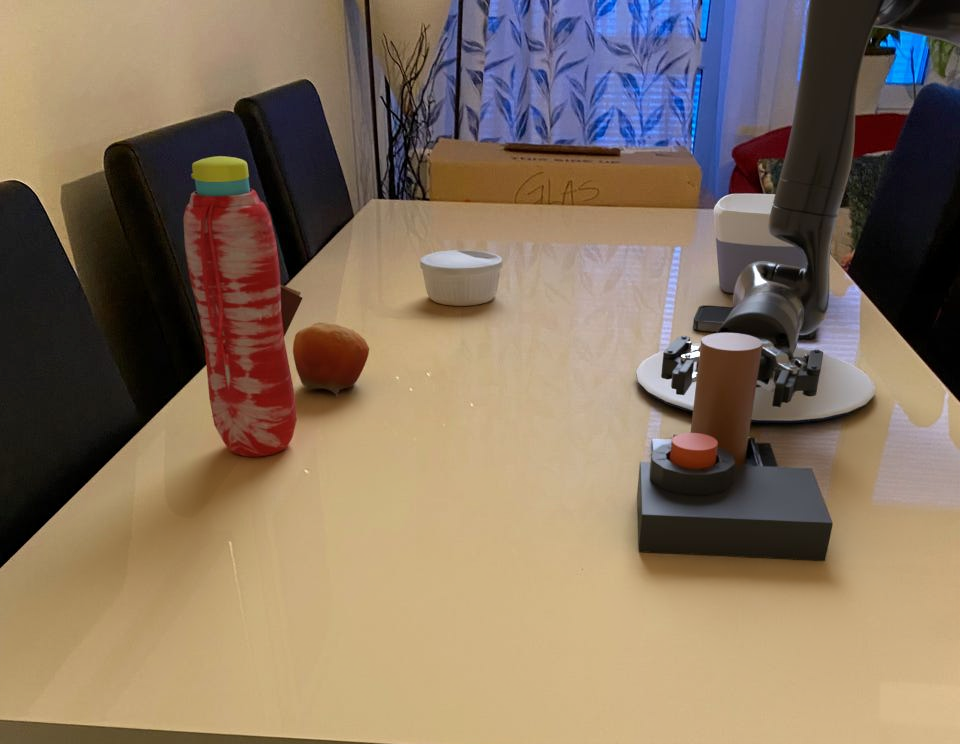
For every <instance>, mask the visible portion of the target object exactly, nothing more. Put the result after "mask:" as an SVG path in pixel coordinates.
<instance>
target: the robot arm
mask: <svg viewBox="0 0 960 744" xmlns="http://www.w3.org/2000/svg"><path fill="white" fill-rule="evenodd" d="M874 28H881V29H887V30H894V31H898V32H903V33H909V34H914V35H919V36H923V37H927V38H932V39H935V40H940V41H942V42H946V43H948V44H952V45H954V46H957V47H958V48H960V0H809V4H808V14H807V23H806V32H805V39H804V47H803V52H802V53H803V54H802V60H801V61H802V62H801V70H800V75H799V83H798V88H797V89H798V90H797V96H796V102H795V108H794V113H793V119H792V124H791V128H790V132H789V133H790V134H789V138H788V143H787V148H786V152H785V156H784V160H783V164H782V167H781V171H780V173H779V178H778V183H777V187H776V190H775V193H774V194H775V197H774V201H773V204H774V205H773V206H772V209H771V213H770V217H769V223H768V230H769V232H770V234H771V235H772V236H774V237H776V238H777V239H779V240H782V241H784V242H787V243H789V244H791V245H793V246H795V247H797V248H798V249H800V250H801V251H802V253H803V254H804V257H805V260H806V268H801V267H795V266H790V265H784V264H778V263H774V262H769V261H757V262H753V263H751V264H749V265H748V266H747V267H746V268H745V269H744V270H743V271H742V272H741V274H740V276H739V278H738V280H737V282H736V285H735V289H734V294H732V307H733V310H732V311H731V313H730V314H729V315H728V317H727V318H726V320H725V321H724V323H723V324H722V326H721V327H720V329H719V330H718V332H716V333H739V334H745V335H750V336H753V337H756V338H758V339H759V340H761V341H762V351H761V358H760V364H759V371H758V378H757V385H756V388H758V387H763V388H764V389H766V390H767V391H769V392H774V397H773V404H772V406H774V407H781V405H782V402H784V403H788V402H790V401H791V399H792V396H794V395H795V392H796V391H803V393H802V394H803V395H806V396H815V395H816V393H817V387H818V381H819V375H820V371H821V365H822V358H823V354H824V351H822V350H820V349H812V350H811V349H810V350H811V351H810V354H804V357H794V356H793V353H794V351H795V349H796V347H797V346H798V340H799V338H798V337H799V335H807V334H809V333H811V332H813V331H814V330H815V329H817V327H818V328H819V327H820V326H821V325H822V323H823V322H824V320H825V318H826V315H827V313H828V310H829V305H830V264H831V263H830V259H831V249H832V241H833V235H834V231H835V226H836V223H837V219H838V215H839V212H840V208H841V204H842V200H843V198H844V195H845V191H846V188H847V184H848V181H849V177H850V173H851V169H852V168H851V167H852V163H853V157H854V150H855V134H856V111H857V110H856V109H857V107H856V106H857V94H858V88H859V79H860V73H861V69H862V65H863V60H864V56H865V52H866V49H867V47H868V42H869V40H870V37H871V35H872V32H873V29H874ZM692 344H693V342H692V341H691V337H690V336H687V335H679V336H678V337H677V338H675V340H673V341H672V342H671V343H670V344H669V345H668V346H667V347H666V348H665V349H664V350H663V351H664V352H663V363H662V373H661V377H662V378H663V379H672V382H671V388H672V389H676V394H678V395H685V393H686V391H687V390H688V388H689V387H690V385H691V384H692V382H696V381H697V372H698V363H699V355H700V346H693V345H692ZM694 362H697V365H696V370H695V371H694V372H693V367H694Z"/></svg>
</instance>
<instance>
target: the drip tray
mask: <svg viewBox="0 0 960 744" xmlns="http://www.w3.org/2000/svg"><path fill="white" fill-rule="evenodd" d="M676 435H677V434H673V435H672V438H673V437H674V436H676ZM672 438H671V439H667V438H651V444H650V445H651V452H652V451H654V450H655V449H657V448H658V447H660V446H661V445H665V444H670V443H671V442H672ZM744 466H766V467H779V465H778V462H777V459H776V456H775V453H774V449H773V447H772V443H771V442H757V440H756V437H752V436H751V437H750V436H749V438H748V445H747V451H746V458H745V465H744Z"/></svg>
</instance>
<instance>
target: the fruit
mask: <svg viewBox="0 0 960 744" xmlns="http://www.w3.org/2000/svg"><path fill="white" fill-rule="evenodd" d="M292 354H293V360H294V365H295V369H296V372H297V375H298V378H299V379H300V380H299V381H300V382H301V384H302V386H303V387H304V390H305V393H307V392H309V391H312V390H317V389H321V390H322V389H324V390H327V391H330V392H332V393H334V394H335V398H336V399H339V392H340V391H341V390H343V389H344V390H345V389H347V388H353V386H354V385H355V384H356V383H357V381H358V380H359V378H360V376H361V375H362V371H363V370H364V368H365V365H366V363H367V361H368V357H369V354H370V347H369V345H368V343H367V341H366V339H365V338H364V337H363V336H362V335H361V334H359V333H358V332H357V331H355V330H354V329H352V328H348V327H345V326H342V325H339V324H335V323H328V322H315V323H313V324H311V325H310V326H307V327H305V328H302V329H300V330H298V331H297V332H296V333H295V335H294V340H293V346H292Z"/></svg>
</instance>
